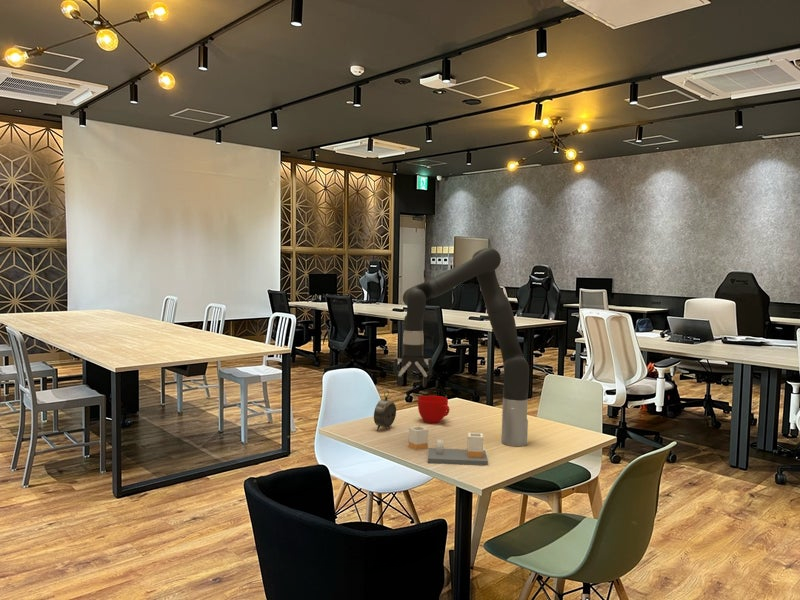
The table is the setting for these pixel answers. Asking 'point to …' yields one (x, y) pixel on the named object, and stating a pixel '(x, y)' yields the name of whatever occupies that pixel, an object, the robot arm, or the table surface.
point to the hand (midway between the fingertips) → (412, 386)
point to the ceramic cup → (433, 408)
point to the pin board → (460, 452)
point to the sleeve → (418, 437)
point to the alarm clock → (384, 413)
